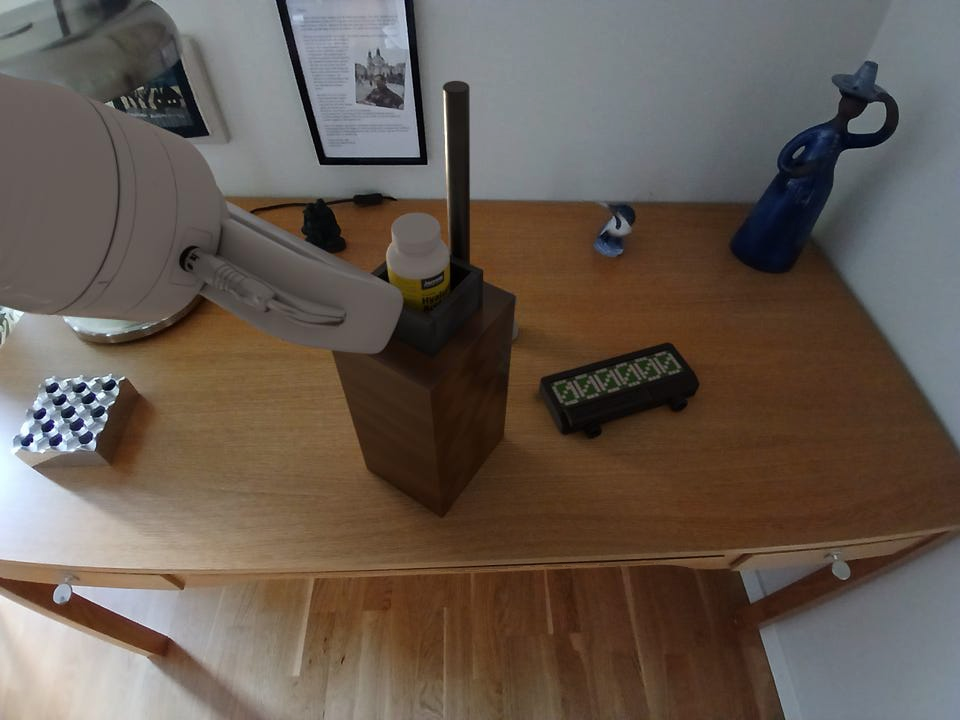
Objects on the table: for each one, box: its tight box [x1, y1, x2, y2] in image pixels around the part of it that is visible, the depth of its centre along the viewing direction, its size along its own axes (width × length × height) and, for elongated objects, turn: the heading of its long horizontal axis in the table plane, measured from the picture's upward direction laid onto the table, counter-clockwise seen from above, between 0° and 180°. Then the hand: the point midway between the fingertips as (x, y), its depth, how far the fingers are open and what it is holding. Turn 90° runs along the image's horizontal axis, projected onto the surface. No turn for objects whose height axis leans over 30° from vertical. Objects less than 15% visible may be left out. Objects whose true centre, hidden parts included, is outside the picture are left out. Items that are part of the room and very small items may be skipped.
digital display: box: [538, 341, 700, 439], centre depth 78 cm, size 21×3×10 cm
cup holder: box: [330, 80, 517, 519], centre depth 55 cm, size 14×12×45 cm
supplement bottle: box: [385, 212, 450, 315], centre depth 49 cm, size 5×5×10 cm
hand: (321, 267), depth 37 cm, fingers open, 8 cm apart
